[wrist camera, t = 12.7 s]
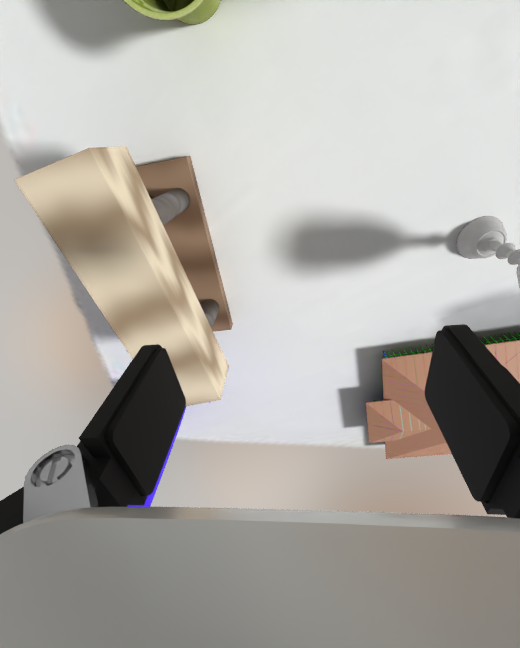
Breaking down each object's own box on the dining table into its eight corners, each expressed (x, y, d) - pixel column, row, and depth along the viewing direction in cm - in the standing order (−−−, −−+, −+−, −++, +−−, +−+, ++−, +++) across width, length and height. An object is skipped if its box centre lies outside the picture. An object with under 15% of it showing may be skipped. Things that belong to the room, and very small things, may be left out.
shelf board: (62, 172, 26) (13, 179, 21) (126, 146, 25) (89, 147, 20) (180, 376, 38) (166, 409, 33) (228, 366, 36) (220, 399, 32)
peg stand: (124, 169, 34) (74, 178, 26) (190, 155, 33) (159, 161, 25) (181, 329, 45) (159, 370, 37) (232, 324, 44) (220, 365, 36)
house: (357, 348, 46) (370, 385, 39) (614, 311, 40) (684, 347, 33) (365, 444, 57) (377, 486, 50) (566, 427, 51) (611, 472, 44)
